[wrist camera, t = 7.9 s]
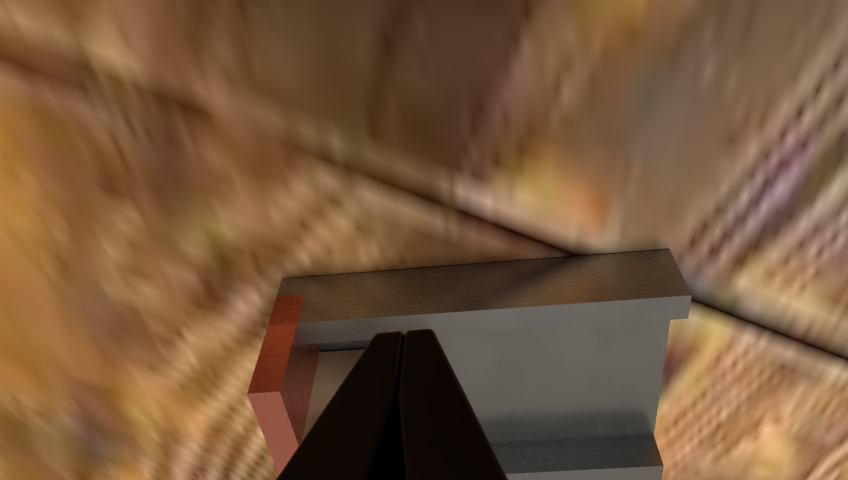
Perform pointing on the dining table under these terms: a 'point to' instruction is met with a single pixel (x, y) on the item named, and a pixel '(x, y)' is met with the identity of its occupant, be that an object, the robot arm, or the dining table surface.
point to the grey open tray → (500, 353)
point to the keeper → (328, 381)
